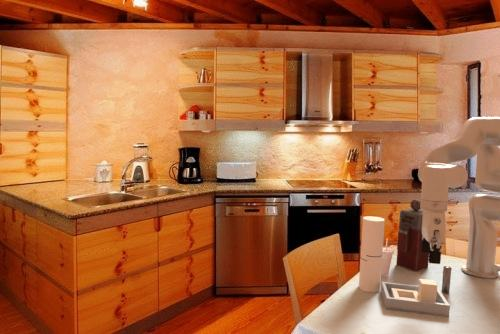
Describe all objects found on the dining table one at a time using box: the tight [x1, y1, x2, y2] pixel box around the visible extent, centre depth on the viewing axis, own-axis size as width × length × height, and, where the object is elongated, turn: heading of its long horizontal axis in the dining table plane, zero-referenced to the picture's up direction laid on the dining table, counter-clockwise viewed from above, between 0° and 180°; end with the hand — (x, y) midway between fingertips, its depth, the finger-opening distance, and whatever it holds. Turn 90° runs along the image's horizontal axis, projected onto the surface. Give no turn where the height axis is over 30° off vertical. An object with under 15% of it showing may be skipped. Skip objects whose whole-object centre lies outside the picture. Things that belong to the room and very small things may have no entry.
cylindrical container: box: [358, 215, 386, 293], centre depth 129 cm, size 7×7×25 cm
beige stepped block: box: [391, 278, 438, 303], centre depth 119 cm, size 8×12×7 cm, turn 77°
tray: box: [380, 281, 451, 317], centre depth 119 cm, size 18×13×4 cm
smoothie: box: [381, 238, 394, 276], centre depth 143 cm, size 6×6×14 cm
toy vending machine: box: [396, 198, 429, 273], centre depth 151 cm, size 9×11×28 cm
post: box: [441, 265, 452, 295], centre depth 128 cm, size 2×2×9 cm
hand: (430, 257), depth 117 cm, fingers open, 9 cm apart
